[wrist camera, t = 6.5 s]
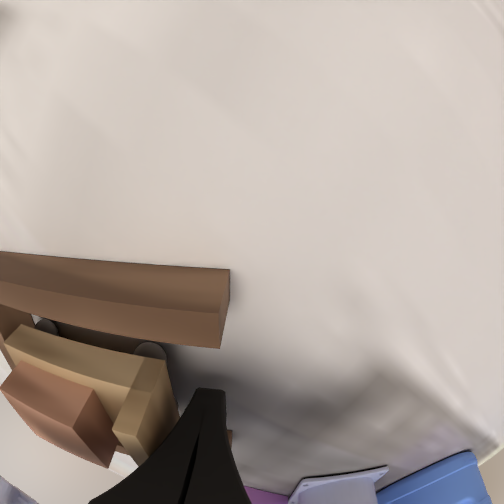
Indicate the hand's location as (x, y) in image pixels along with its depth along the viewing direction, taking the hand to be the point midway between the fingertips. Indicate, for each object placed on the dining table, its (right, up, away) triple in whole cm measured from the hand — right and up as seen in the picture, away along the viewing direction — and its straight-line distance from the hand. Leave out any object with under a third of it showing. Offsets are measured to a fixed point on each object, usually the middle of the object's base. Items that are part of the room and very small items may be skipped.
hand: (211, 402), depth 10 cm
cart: (-5, +1, +1) cm, 6 cm away
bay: (-5, +1, +1) cm, 5 cm away
